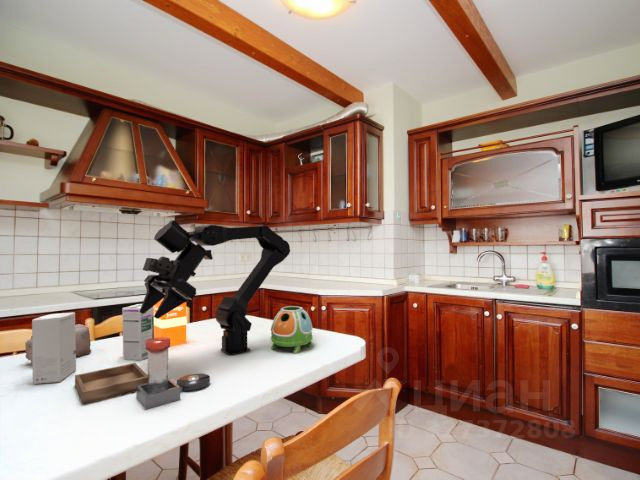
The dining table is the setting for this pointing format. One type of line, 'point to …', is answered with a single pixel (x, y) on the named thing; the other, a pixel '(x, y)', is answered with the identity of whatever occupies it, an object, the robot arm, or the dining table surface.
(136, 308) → the syrup box
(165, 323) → the orange juice
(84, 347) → the food item
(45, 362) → the skincare box
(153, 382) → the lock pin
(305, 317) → the turtle holder
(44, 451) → the dining table surface
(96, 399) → the tray
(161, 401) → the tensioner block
